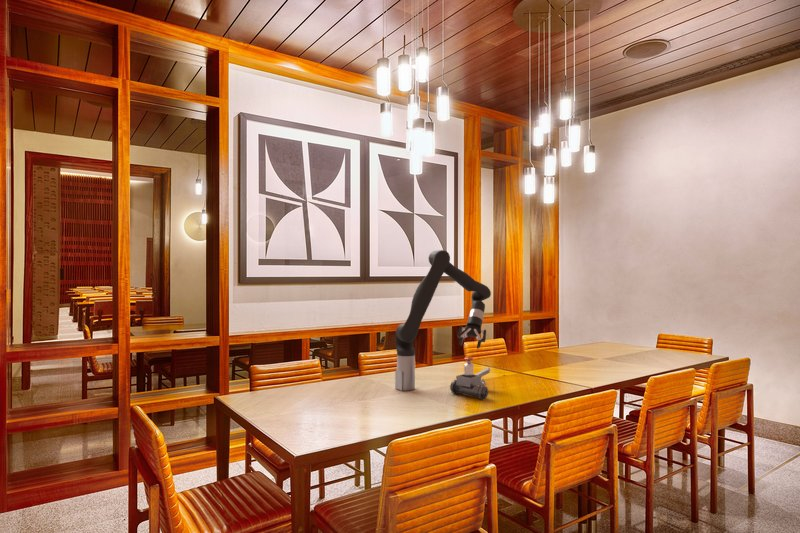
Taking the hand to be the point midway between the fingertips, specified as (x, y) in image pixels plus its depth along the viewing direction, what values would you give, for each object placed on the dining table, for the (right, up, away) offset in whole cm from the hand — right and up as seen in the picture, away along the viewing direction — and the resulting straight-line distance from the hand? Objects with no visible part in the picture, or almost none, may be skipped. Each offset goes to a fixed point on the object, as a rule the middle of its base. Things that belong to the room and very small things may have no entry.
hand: (469, 346), depth 248 cm
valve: (-2, -16, -11) cm, 19 cm away
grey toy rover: (-2, -22, -11) cm, 25 cm away
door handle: (+3, -23, +9) cm, 25 cm away
